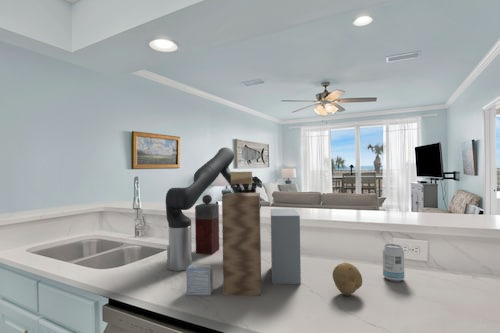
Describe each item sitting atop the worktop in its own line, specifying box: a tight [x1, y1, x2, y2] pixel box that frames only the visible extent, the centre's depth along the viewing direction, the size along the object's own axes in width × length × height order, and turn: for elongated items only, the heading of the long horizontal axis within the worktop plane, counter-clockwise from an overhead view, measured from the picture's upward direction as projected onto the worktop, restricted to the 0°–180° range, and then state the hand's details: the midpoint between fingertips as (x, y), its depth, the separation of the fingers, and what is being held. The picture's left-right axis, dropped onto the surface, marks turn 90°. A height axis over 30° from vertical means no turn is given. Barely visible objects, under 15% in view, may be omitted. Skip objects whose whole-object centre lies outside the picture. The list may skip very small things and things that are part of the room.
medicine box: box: [185, 264, 214, 296], centre depth 94 cm, size 8×4×9 cm, turn 84°
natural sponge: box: [332, 262, 363, 297], centre depth 91 cm, size 9×9×10 cm
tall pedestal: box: [221, 192, 262, 297], centre depth 98 cm, size 12×12×32 cm
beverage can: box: [382, 243, 405, 283], centre depth 103 cm, size 7×7×12 cm
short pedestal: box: [270, 208, 302, 285], centre depth 108 cm, size 10×16×24 cm, turn 177°
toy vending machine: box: [194, 194, 220, 255], centre depth 142 cm, size 9×11×28 cm
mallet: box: [230, 171, 253, 184], centre depth 106 cm, size 20×7×4 cm, turn 176°
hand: (244, 174), depth 110 cm, fingers closed on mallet, 3 cm apart
